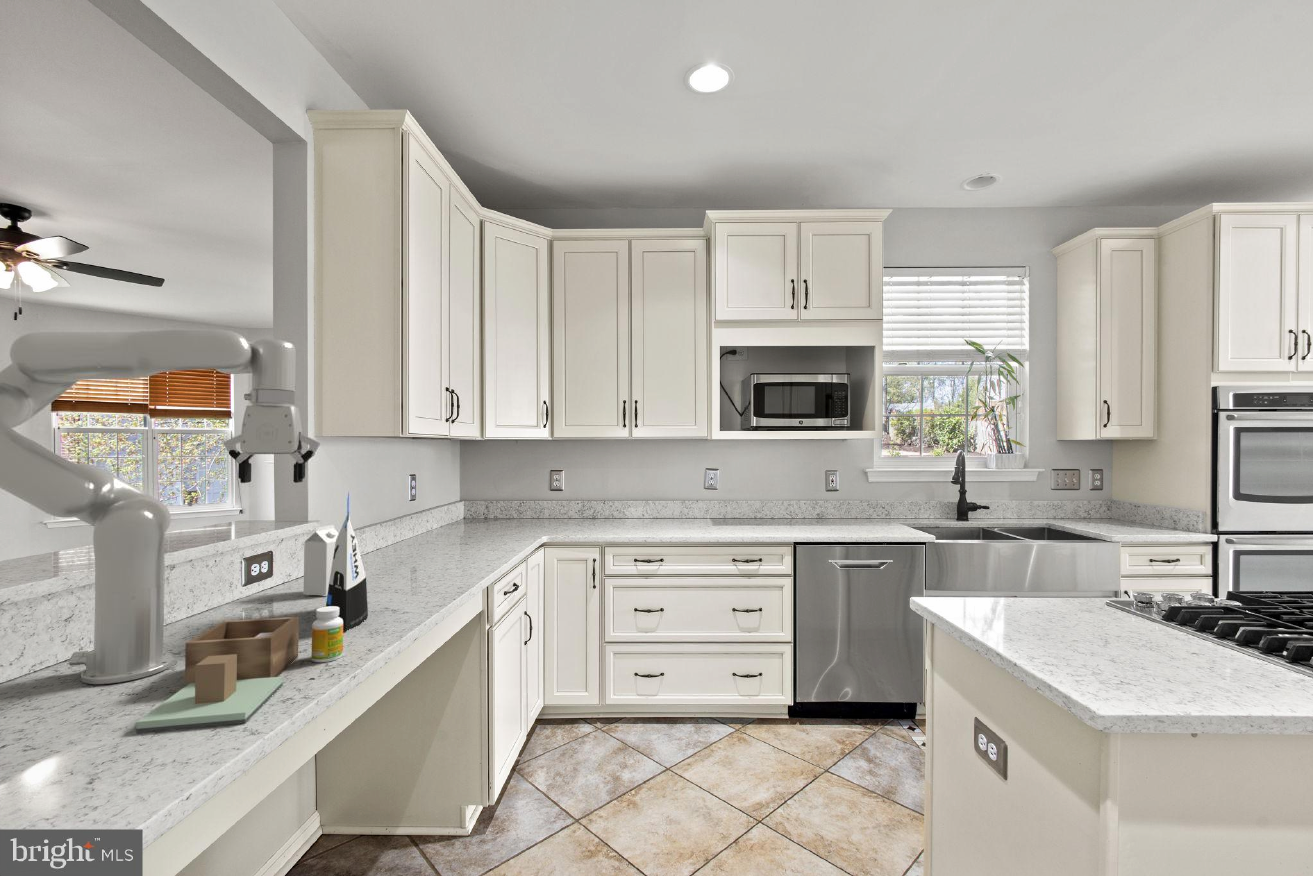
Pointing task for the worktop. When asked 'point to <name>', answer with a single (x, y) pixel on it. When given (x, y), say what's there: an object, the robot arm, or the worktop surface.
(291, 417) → the robot arm
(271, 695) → the rubber mat
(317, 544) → the milk carton
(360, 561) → the protein powder
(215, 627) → the storage box
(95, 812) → the worktop surface
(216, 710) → the lid
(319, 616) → the supplement bottle
